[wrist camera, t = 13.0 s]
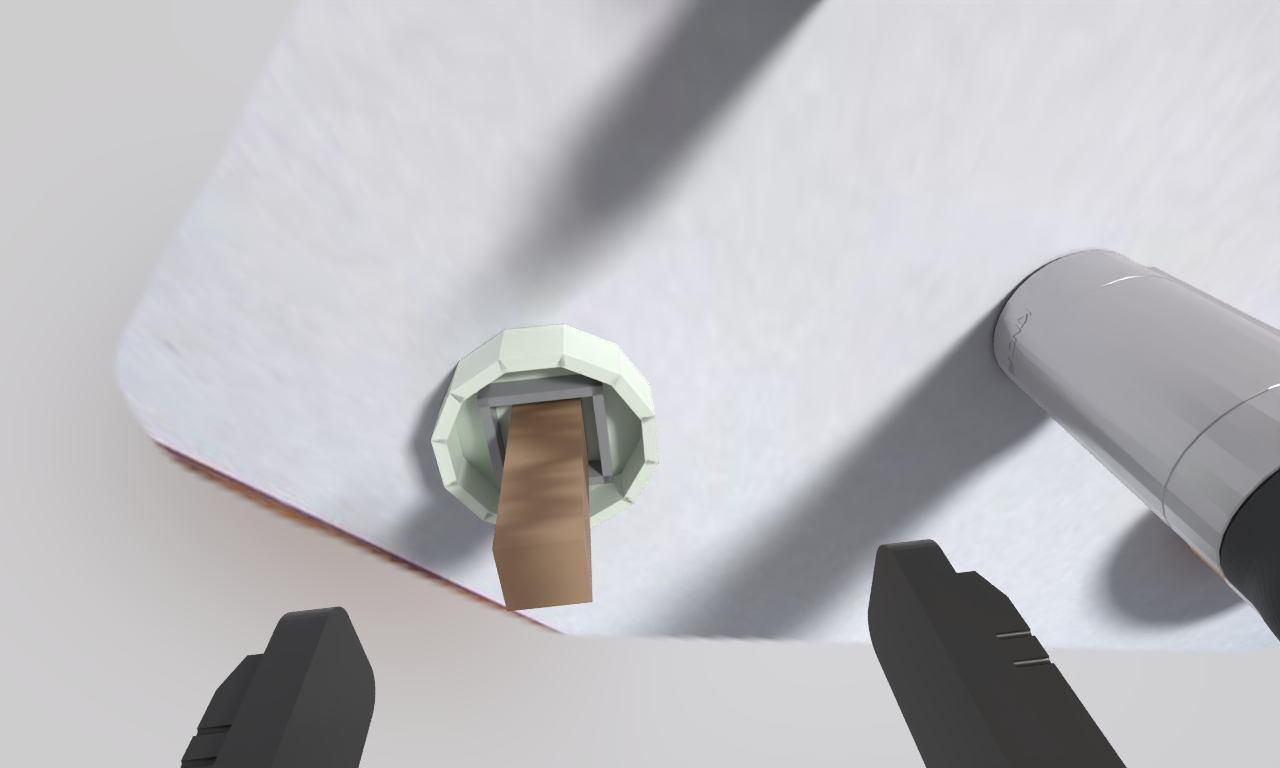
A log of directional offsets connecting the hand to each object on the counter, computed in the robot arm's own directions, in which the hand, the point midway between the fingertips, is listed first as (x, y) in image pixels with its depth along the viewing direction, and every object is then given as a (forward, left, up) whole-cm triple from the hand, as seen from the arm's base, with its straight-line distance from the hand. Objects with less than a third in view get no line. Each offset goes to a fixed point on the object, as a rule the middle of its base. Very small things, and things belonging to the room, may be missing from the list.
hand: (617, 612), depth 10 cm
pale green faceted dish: (+4, +15, -28) cm, 32 cm away
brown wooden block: (+4, +15, -27) cm, 31 cm away
